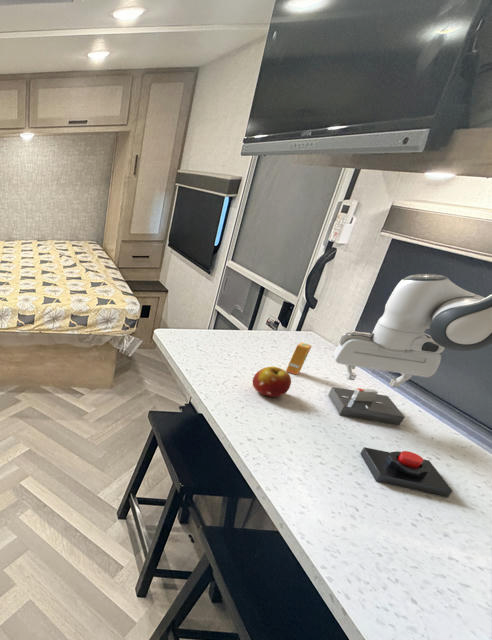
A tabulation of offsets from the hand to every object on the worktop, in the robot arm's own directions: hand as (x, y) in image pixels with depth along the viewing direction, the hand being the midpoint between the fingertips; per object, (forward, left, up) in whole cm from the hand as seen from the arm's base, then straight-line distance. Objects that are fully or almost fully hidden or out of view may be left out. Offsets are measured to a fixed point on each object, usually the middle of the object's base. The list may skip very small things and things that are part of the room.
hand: (371, 382), depth 108 cm
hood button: (0, +28, -5) cm, 28 cm away
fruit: (+22, 0, -9) cm, 24 cm away
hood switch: (0, +28, -9) cm, 29 cm away
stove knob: (0, 0, -6) cm, 6 cm away
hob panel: (-1, 0, -9) cm, 9 cm away
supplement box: (+12, -18, -9) cm, 24 cm away
